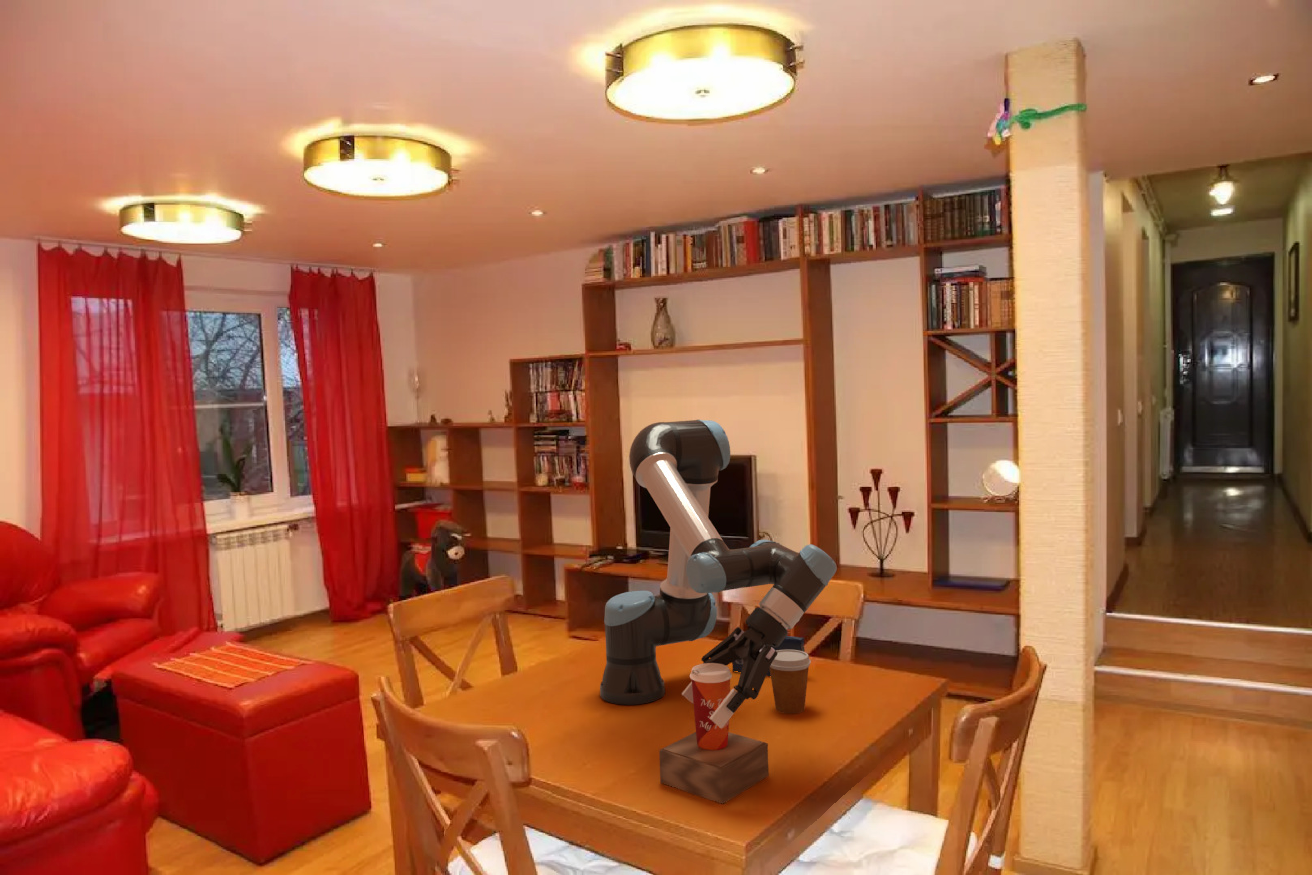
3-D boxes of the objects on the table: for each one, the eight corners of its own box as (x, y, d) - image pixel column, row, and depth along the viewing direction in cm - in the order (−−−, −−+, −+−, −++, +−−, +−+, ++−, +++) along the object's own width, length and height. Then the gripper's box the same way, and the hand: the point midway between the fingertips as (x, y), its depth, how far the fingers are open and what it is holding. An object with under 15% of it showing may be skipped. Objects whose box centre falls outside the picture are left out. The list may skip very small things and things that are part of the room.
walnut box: (660, 782, 161) (659, 748, 161) (707, 756, 171) (706, 725, 171) (722, 804, 152) (721, 768, 151) (768, 775, 162) (767, 741, 162)
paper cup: (704, 756, 157) (702, 678, 156) (683, 741, 163) (681, 666, 163) (742, 746, 160) (740, 670, 159) (720, 732, 167) (718, 659, 166)
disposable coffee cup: (811, 717, 190) (810, 662, 189) (766, 715, 192) (765, 661, 191) (812, 702, 199) (811, 649, 199) (769, 700, 201) (768, 648, 200)
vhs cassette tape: (731, 672, 223) (730, 632, 222) (736, 668, 225) (735, 629, 225) (801, 681, 214) (800, 640, 213) (806, 677, 216) (804, 637, 216)
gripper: (820, 648, 153) (743, 748, 149) (757, 615, 177) (689, 700, 173) (792, 621, 151) (713, 721, 147) (732, 592, 175) (663, 677, 171)
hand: (700, 710), depth 160 cm, fingers open, 13 cm apart
